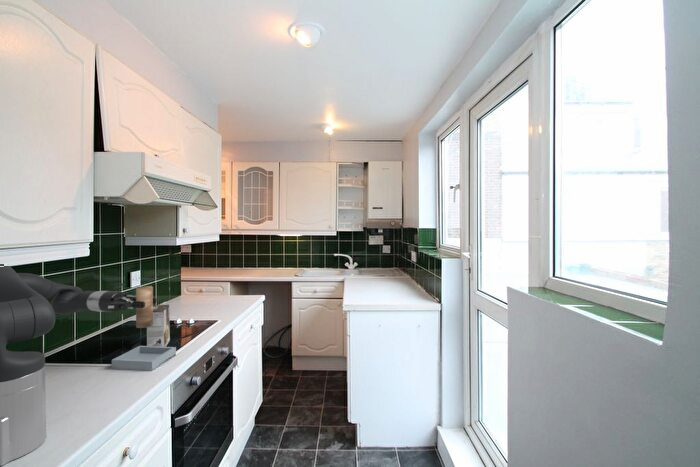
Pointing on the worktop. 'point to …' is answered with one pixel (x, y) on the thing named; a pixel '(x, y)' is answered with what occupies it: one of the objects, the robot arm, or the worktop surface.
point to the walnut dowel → (144, 314)
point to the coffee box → (159, 327)
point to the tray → (144, 358)
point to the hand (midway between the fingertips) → (150, 302)
